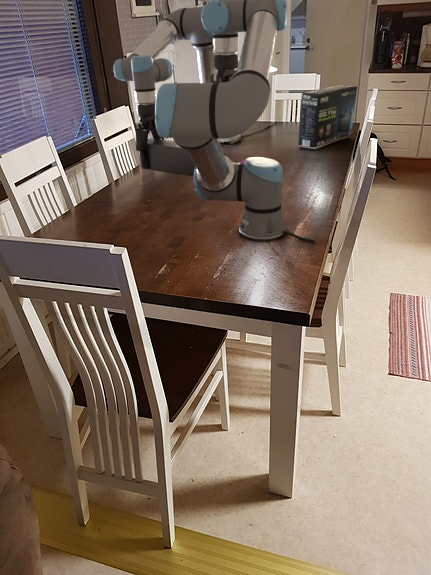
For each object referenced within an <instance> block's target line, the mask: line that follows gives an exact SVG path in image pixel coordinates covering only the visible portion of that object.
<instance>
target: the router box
mask: <svg viewBox="0 0 431 575" xmlns="http://www.w3.org/2000/svg"><path fill="white" fill-rule="evenodd" d="M357 93H358V86H356V85H350V84H339V85H338V84H337V85H334V86H328V87H324V88H318V89H314V90H309V91H304V92H301V93H300V109H299V110H300V111H299V124H298V137H297V146H298V145H302V146H307V147H317V146H320V145H323V144H325V143H328V142H331V141H333V140H336V139H338V138H341V137H344V136H347V135H351V136H352V133H353V132H352V131H353V125H354V115H355V109H356V99H357ZM311 151H313V150H312V149H311Z"/></svg>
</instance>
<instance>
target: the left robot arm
mask: <svg viewBox="0 0 431 575" xmlns="http://www.w3.org/2000/svg"><path fill="white" fill-rule="evenodd" d="M203 8H204V6H199V7H198V6H196V7H195V6H194V7H182V8H178V9H176V10H174V11H172V12H170V13H169V14H167V15H166V16H165V17H164V18H162V19H161V20H160V21H159V22H158V24H157V26H156V29H155V30H154V31H153V32H152V33H150V35H149V36H148V37H147V38H145V40H143V42H142V43H141V44H139V46H137V48H136V49H134V50H133V51H132V52H131V53H130V54H129V55H128V56H127V57H126V58H118V59H116V60H115V61H114V64H113V73H114V77H115V78H116V80H119V81H123V82H133V87H134V97H135V103H136V105H135V107H136V114H137V116H138V117H139V121H138V122H134V125H133V126H134V129H135V150H136V151H137V152H139V151H140V152H141V159H142V162H143V168H144V169H143V170H147V169H150V164H149V155H148V151H147V142H148V139H149V135H150V133H151V136H152V139H161V140H166V138H162V137H160V136H159V135H158V133H157V129H156V122H155V105H156V97H157V91H156V84H157V83H160V82H161V83H162V82H166V81H167V80H169V79H171V78H172V76H173V73H174V67H173V64H172V62H171V61H170V60H169V59H167V58H164V57H162V58H160V57H159V56H160V55H161V54H162V53H163V52H164V51H165V50H166V49H167V48H168V47H169V46H172V45H175V44H176V42H178V41H190V42H191V47H192V48H193V49H194V50H195V54H196V61H197V69H198V70H197V71H198V76H199V83H211V76H212V74H217V73H218V70H217V69H215V68H214V62H213V56H214V55H215V53H214V52H213V33H211V32H209V31H208V30H206V28H205V27H204V26H203V23H202V19H201V14H202V10H203ZM158 57H159V58H158ZM274 121H275V122H276V123H277V121H276V120H274ZM219 143H220V144H221V142H219Z"/></svg>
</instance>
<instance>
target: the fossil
mask: <svg viewBox="0 0 431 575" xmlns="http://www.w3.org/2000/svg"><path fill="white" fill-rule="evenodd" d="M244 134H245V132H243V133H241V134H239V135H237V136H235V137H232V138H226V139H218V140H219V142H220V143H224V142H227V143H229V142H234V143H229V144H230V145H234V144H235V143H237V142H238V141H239V140H240V139H241V136H243V135H244ZM243 137H244V136H243ZM236 141H237V142H236Z"/></svg>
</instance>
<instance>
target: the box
mask: <svg viewBox="0 0 431 575" xmlns="http://www.w3.org/2000/svg"><path fill="white" fill-rule="evenodd" d="M147 151H148V155H149V164H150V169H146V170H147V171H154V172H160V173H161V172H162V173H167V174H175V175H182V176H188V177H189V176H190V177H194V170H195V167H196V166H195V164H194V162H193V161H192V159H191V157H190V155H189V153H188V152H187V150H186V149H183V148H182V147H180V146H179V145H178V144H177V143H176V142H175V141H174V140H169V139H165V140H161V139H153V137H152V138H148V142H147ZM138 153H139V161H140V168H141V170H145V169H144V168H143V162H142V159H141V152H140V151H138Z"/></svg>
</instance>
